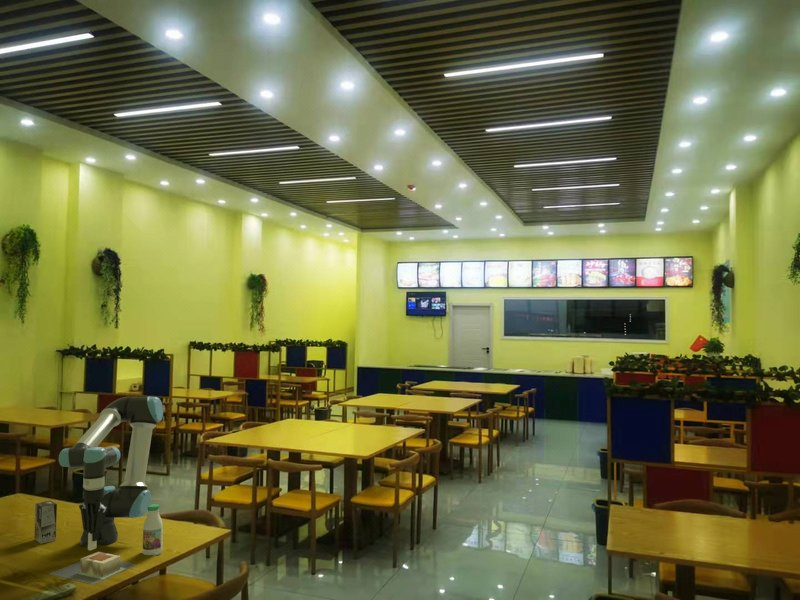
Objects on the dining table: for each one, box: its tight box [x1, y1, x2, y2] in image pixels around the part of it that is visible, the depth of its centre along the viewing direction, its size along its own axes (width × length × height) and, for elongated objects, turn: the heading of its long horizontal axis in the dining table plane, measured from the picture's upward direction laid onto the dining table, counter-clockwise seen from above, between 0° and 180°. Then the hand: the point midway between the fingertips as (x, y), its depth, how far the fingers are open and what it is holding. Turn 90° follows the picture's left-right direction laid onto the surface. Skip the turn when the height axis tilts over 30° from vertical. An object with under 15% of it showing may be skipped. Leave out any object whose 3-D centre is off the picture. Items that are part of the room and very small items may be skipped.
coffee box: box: [34, 500, 58, 544], centre depth 268 cm, size 9×6×16 cm
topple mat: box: [49, 560, 138, 585], centre depth 233 cm, size 24×20×1 cm
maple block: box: [80, 551, 121, 577], centre depth 231 cm, size 5×8×12 cm
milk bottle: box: [142, 503, 164, 556], centre depth 252 cm, size 8×8×20 cm
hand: (92, 548), depth 233 cm, fingers closed
